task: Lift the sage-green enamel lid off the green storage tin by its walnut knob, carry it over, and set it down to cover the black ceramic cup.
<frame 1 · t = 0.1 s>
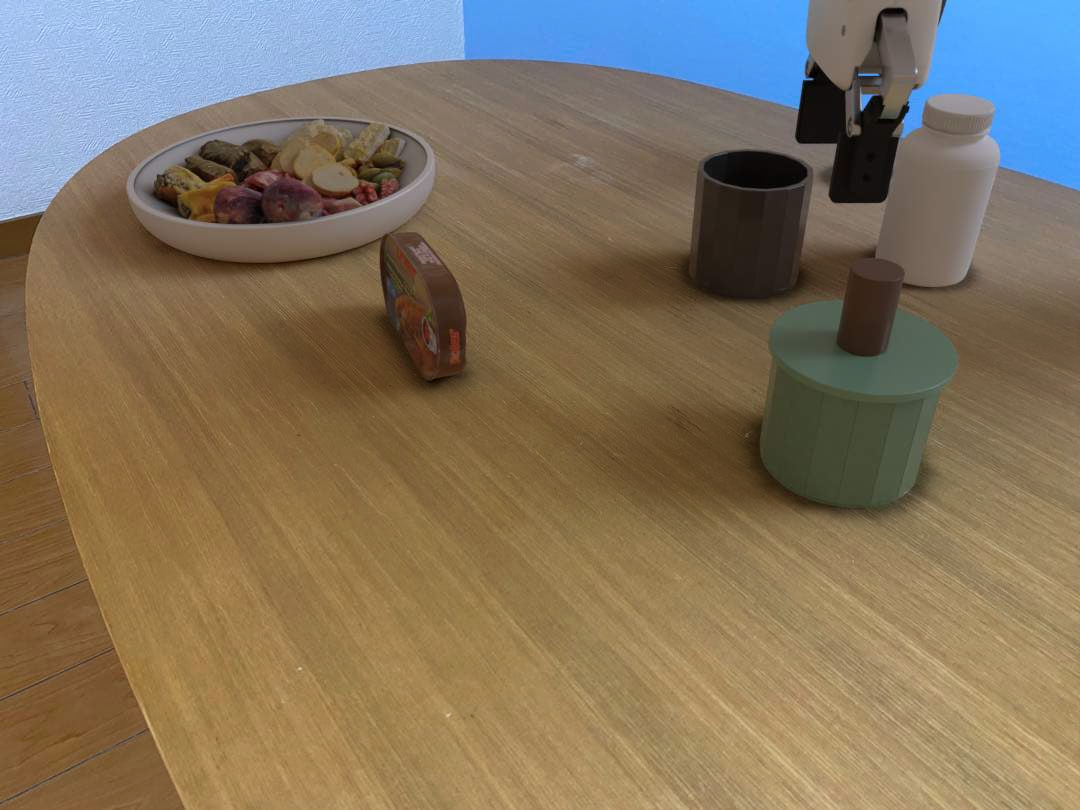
hand: (836, 169, 58), 17 cm above the table, tool pointing down, fingers open, 9 cm apart
cup: (742, 276, 84), on the table
can: (836, 461, 62), on the table
wineglass: (863, 183, 101), on the table
lid: (859, 352, 57), point 8 cm above the table, touching can
tin: (426, 350, 74), on the table
pill bottle: (919, 271, 84), on the table
bowl: (292, 212, 97), on the table
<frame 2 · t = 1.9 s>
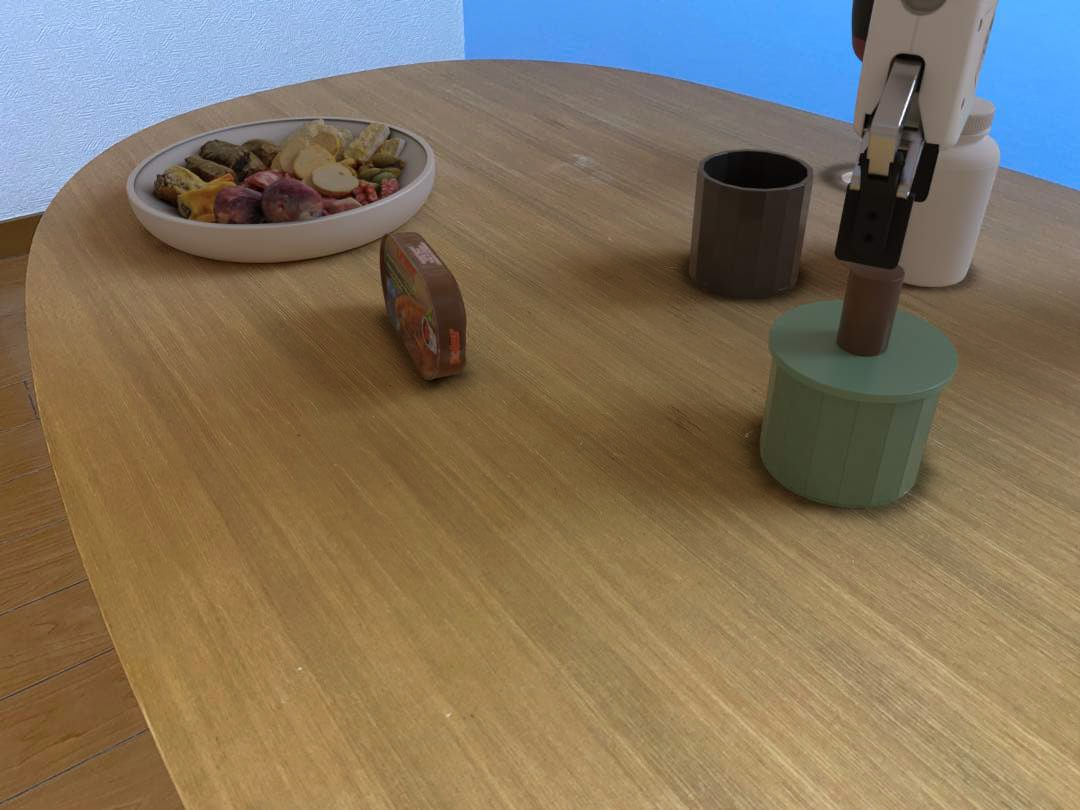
hand: (883, 227, 52), 17 cm above the table, tool pointing down, fingers open, 9 cm apart
nothing on the table moved.
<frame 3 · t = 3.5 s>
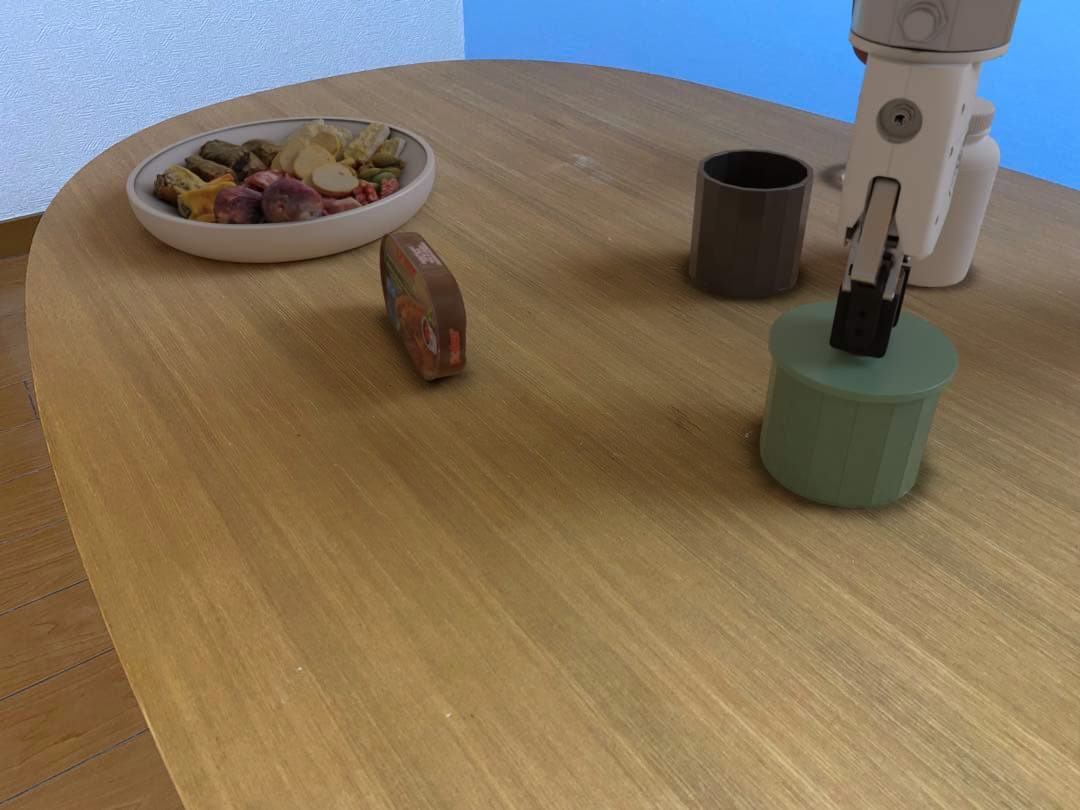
hand: (863, 333, 56), 10 cm above the table, tool pointing down, fingers closed on lid, 3 cm apart
lid: (859, 352, 57), point 9 cm above the table, touching can, gripper
everything else where it was.
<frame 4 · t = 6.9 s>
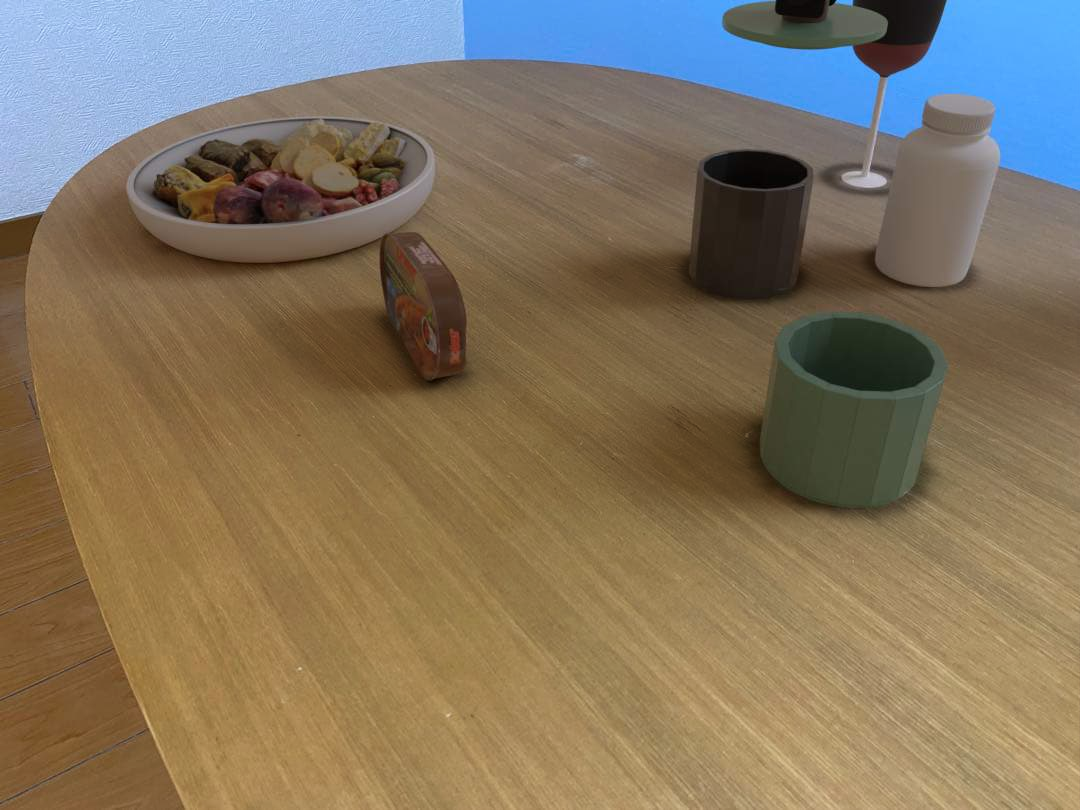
hand: (805, 6, 64), 24 cm above the table, tool pointing down, fingers closed on lid, 3 cm apart
lid: (802, 27, 65), point 23 cm above the table, touching gripper
everything else where it was.
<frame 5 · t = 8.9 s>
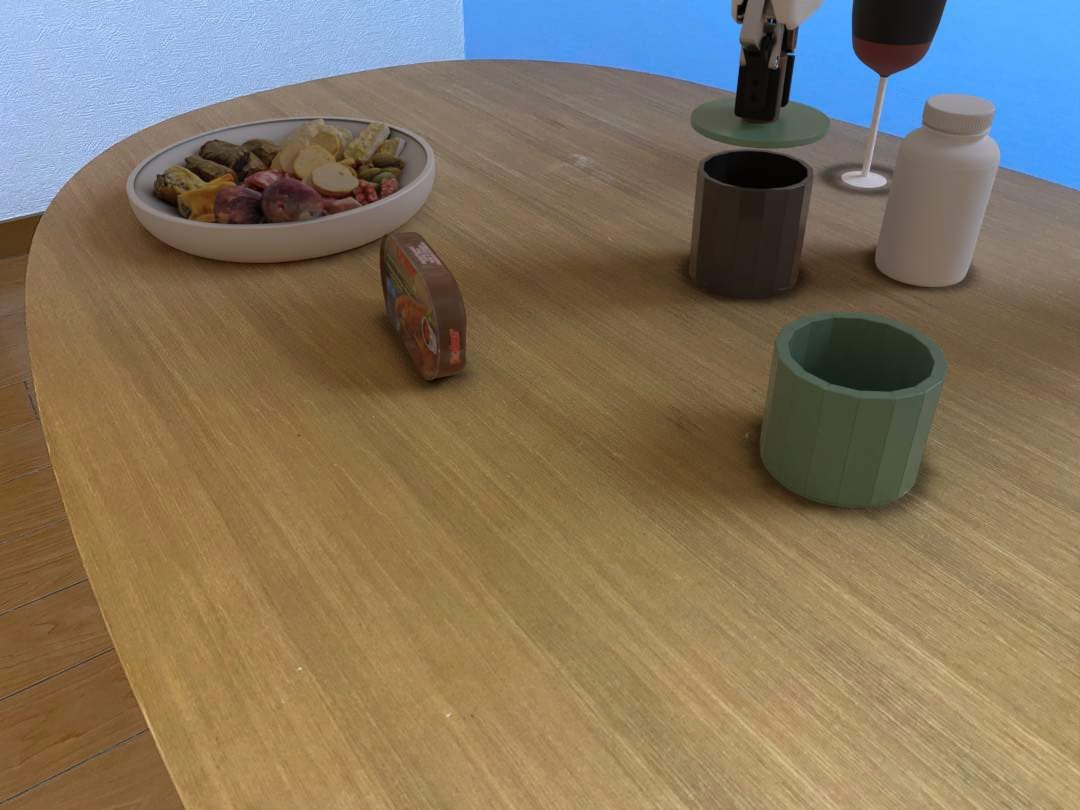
hand: (761, 108, 75), 15 cm above the table, tool pointing down, fingers closed on lid, 3 cm apart
lid: (758, 124, 76), point 14 cm above the table, touching gripper
everything else where it was.
when the fingers open (11 cm above the table, at t = 10.3 s): lid stays where it is, resting on cup.
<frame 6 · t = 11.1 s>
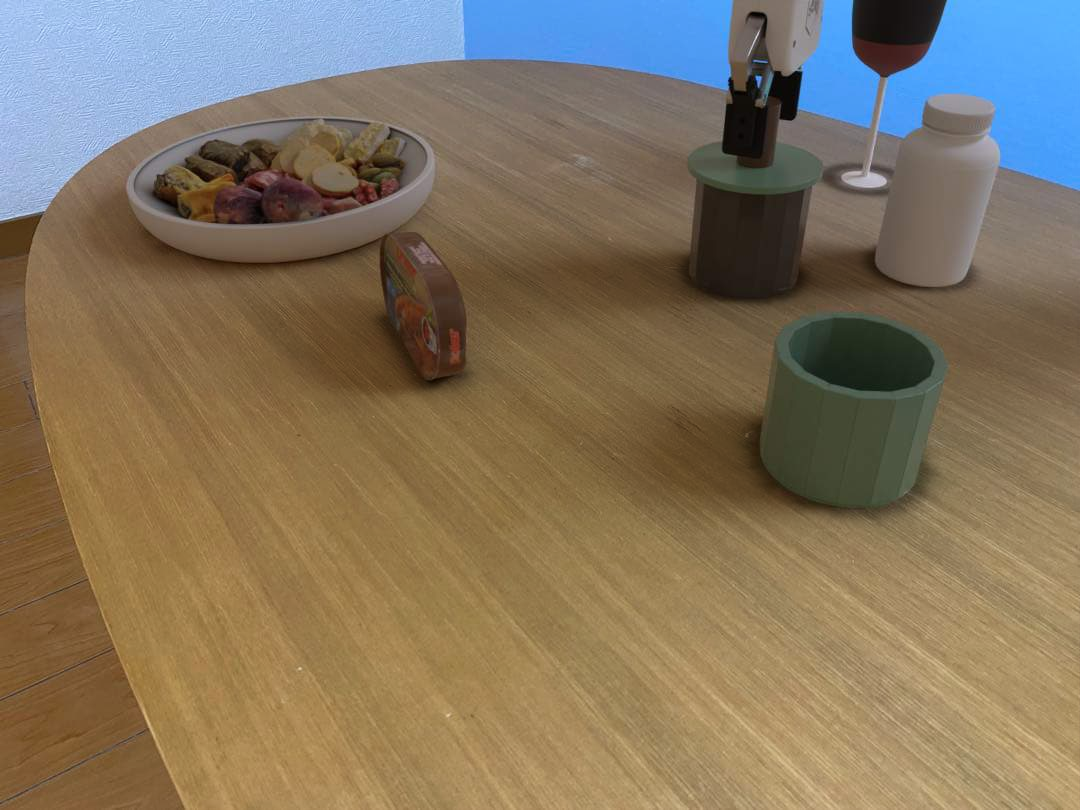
hand: (760, 135, 76), 13 cm above the table, tool pointing down, fingers open, 9 cm apart
lid: (753, 168, 78), point 10 cm above the table, touching cup
everything else where it was.
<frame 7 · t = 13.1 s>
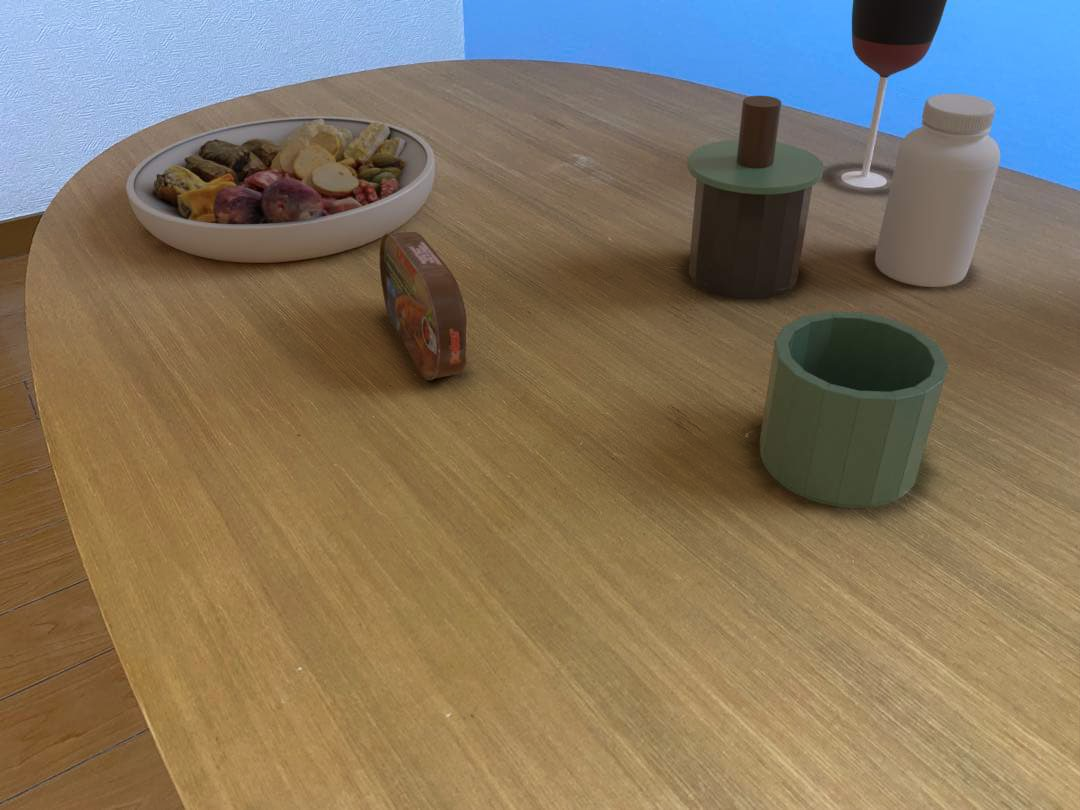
nothing on the table moved.
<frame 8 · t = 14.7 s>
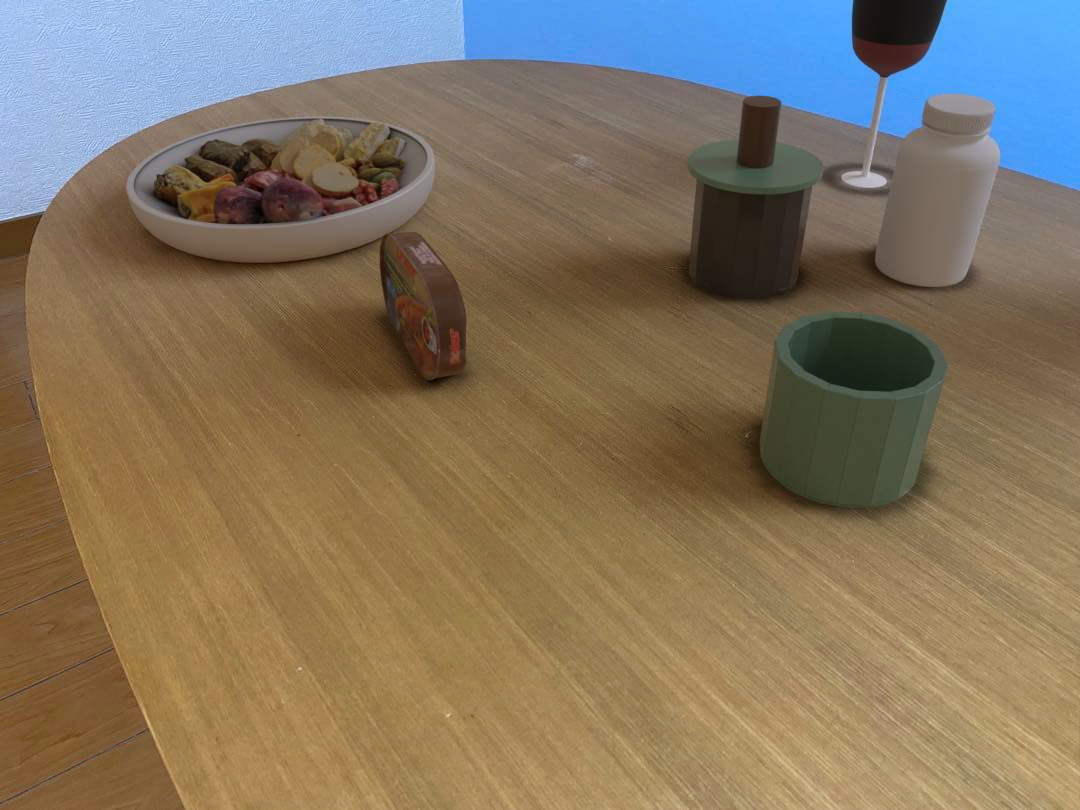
nothing on the table moved.
at the end: lid 0.1 cm off-centre on the cup, point 10.0 cm above the cup's base; lid tilted 0°; lid touching cup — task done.
